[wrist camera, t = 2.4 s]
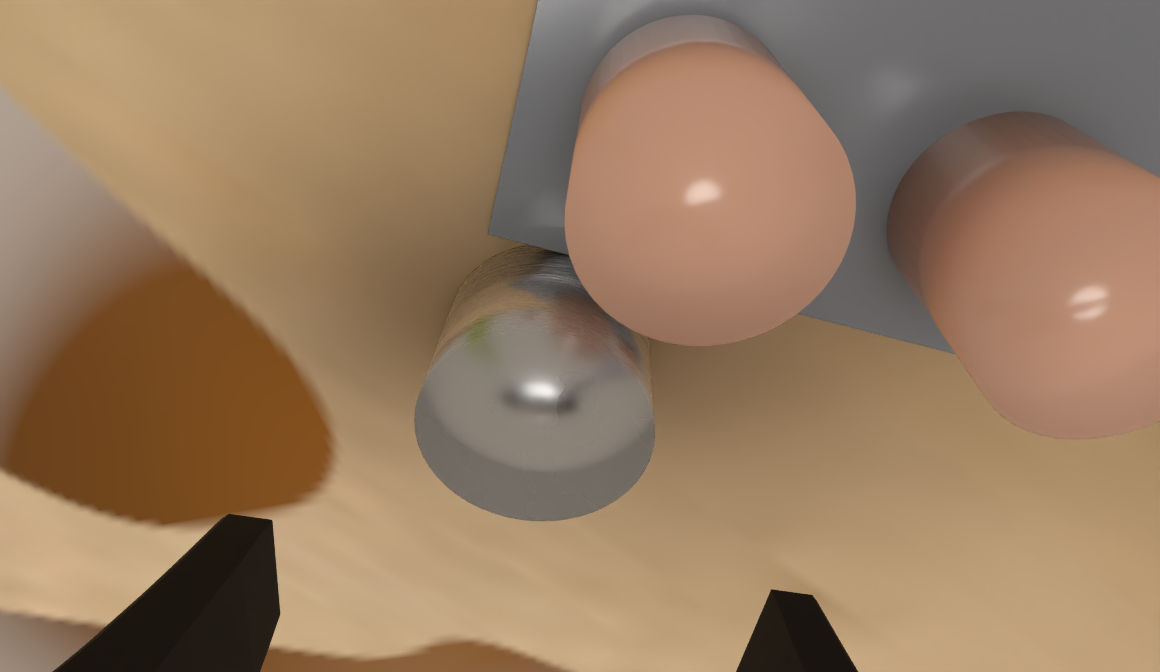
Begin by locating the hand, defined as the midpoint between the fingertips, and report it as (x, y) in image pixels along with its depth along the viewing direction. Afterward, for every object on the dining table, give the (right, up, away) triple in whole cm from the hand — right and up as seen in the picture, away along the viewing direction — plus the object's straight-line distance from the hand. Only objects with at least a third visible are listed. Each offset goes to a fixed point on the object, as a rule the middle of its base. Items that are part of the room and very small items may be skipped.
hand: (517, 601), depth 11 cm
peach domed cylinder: (+3, +8, +5) cm, 10 cm away
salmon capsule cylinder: (+10, +7, +5) cm, 13 cm away
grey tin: (0, +4, +8) cm, 9 cm away
